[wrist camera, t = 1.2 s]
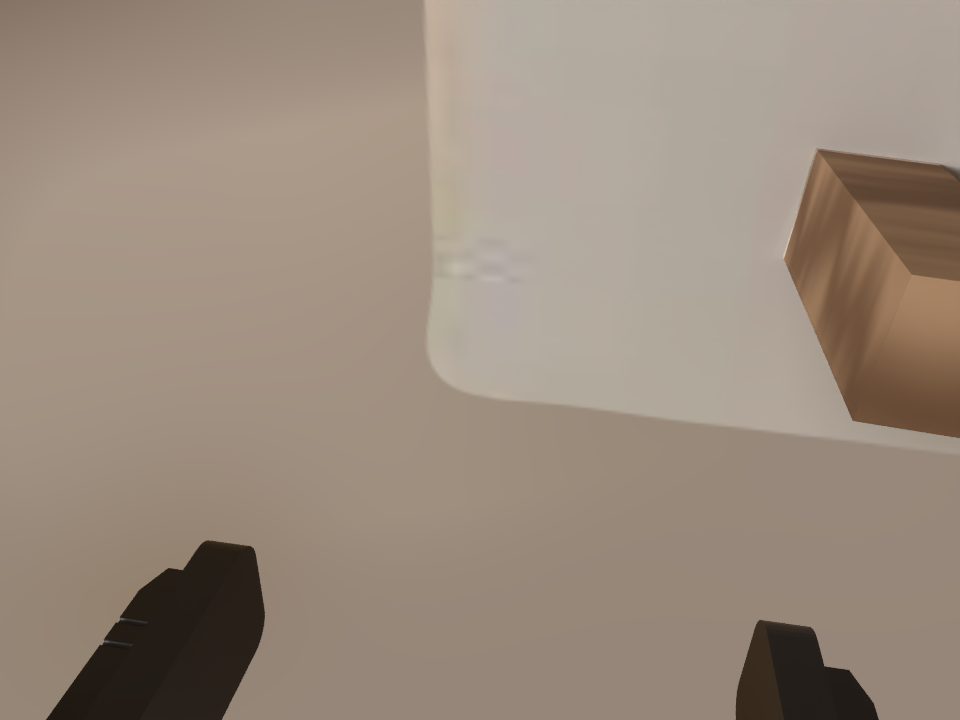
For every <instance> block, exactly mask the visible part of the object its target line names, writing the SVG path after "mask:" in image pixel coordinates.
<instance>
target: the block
mask: <svg viewBox="0 0 960 720" xmlns="http://www.w3.org/2000/svg"><path fill="white" fill-rule="evenodd" d="M783 258H784V260H785V263H786V265H787V267H788V270H789V272H790V274H791V277H792V279H793V282H794V284H795V286H796V289H797V291H798V293H799V296H800V298H801V300H802V303H803V305H804V307H805V310H806V312H807V314H808V317H809V319H810V321H811V324H812V326H813V328H814V331H815V333H816V335H817V338H818V340H819V343H820V345H821V347H822V350H823V352H824V354H825V357H826V359H827V361H828V364H829V366H830V368H831V371H832V373H833V375H834V378H835V380H836V382H837V385H838V387H839V389H840V392H841V394H842V396H843V399H844V401H845V403H846V406H847V408H848V411H849V413H850V415H851V418H852V420H853V421H857V422H863V423H869V424H876V425H882V426H888V427H894V428H901V429H907V430H913V431H919V432H926V433H932V434H938V435H944V436H951V437H957V438H960V181H959V180H958V179H956V178H955V177H954V176H953V175H952V174H950V173H949V172H948V171H947V170H946V169H945V168H943V167H942V166H941V165H940V164H935V163H927V162H919V161H911V160H903V159H895V158H887V157H879V156H872V155H864V154H856V153H848V152H840V151H832V150H824V149H816V151H815V155H814V158H813V161H812V164H811V168H810V171H809V174H808V178H807V181H806V184H805V187H804V191H803V194H802V197H801V200H800V204H799V207H798V210H797V213H796V217H795V220H794V223H793V227H792V230H791V233H790V236H789V240H788V243H787V246H786V249H785V253H784V256H783Z"/></svg>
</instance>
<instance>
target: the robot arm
mask: <svg viewBox="0 0 960 720" xmlns="http://www.w3.org/2000/svg"><path fill="white" fill-rule="evenodd" d="M264 619H265V611H264V603H263V597H262V591H261V584H260V578H259V572H258V566H257V559H256V554H255V551H254V549H253V548H252V547H251V546H245V545H238V544H231V543H224V542H216V541H209V540H208V541H205V542H203V543H202V544H201V545H200V546H199V548H198V549H197V550H196V552H195V553H194V555H193V556H192V558H191V559H190V561H189V562H188V564H187V565H186V567H185V568H184V570H178V569H171V568H168V569H167V570H165V571H164V572H163V573H161V574H160V575H159V576H158V577H156V578H155V579H153V580H152V581H151V582H149V583H148V584H147V585H146V586H144V587H143V588H141V589H140V590H139V591H138V593H137V594H136V596H135V597H134V598H133V600H132V601H131V602H130V604H129V605H128V607H127V608H126V610H125V611H124V612H123V614H122V615H121V616H120V621H119V622H118V623H115V625H114V626H113V627H112V629H111V630H110V632H109V633H108V634H107V636H106V637H105V639H104V643H103V645H100V646H99V647H98V649H97V650H96V651H95V652H94V654H93V655H92V657H91V658H90V659H89V661H88V662H87V664H86V665H85V666H84V668H83V669H82V671H81V672H80V673H79V675H78V676H77V678H76V679H75V680H74V682H73V683H72V684H71V686H70V687H69V689H68V690H67V691H66V693H65V694H64V696H63V697H62V698H61V700H60V701H59V703H58V704H57V705H56V707H55V708H54V710H53V711H52V713H51V714H50V715H49V716H48V718H47V719H46V720H222V718H223V716H224V714H225V712H226V710H227V708H228V706H229V704H230V702H231V700H232V698H233V696H234V694H235V692H236V690H237V688H238V686H239V684H240V682H241V680H242V678H243V676H244V674H245V672H246V670H247V668H248V666H249V664H250V662H251V660H252V658H253V656H254V654H255V652H256V650H257V648H258V646H259V643H260V640H261V636H262V632H263V627H264ZM736 720H879V719H878V716H877V712H876V709H875V706H874V703H873V702H872V700H871V699H870V698H869V697H868V695H867V694H866V693H865V691H864V690H863V688H862V687H861V686H860V684H859V683H858V682H857V680H856V679H855V678H854V676H853V675H852V674H851V672H850V671H849V670H845V669H837V668H831V667H824V664H823V659H822V655H821V652H820V648H819V644H818V640H817V637H816V634H815V632H814V630H813V629H812V628H811V627H806V626H799V625H791V624H785V623H777V622H771V621H763V620H759V621H758V623H757V624H756V627H755V630H754V633H753V637H752V640H751V643H750V647H749V650H748V654H747V657H746V661H745V664H744V667H743V671H742V674H741V677H740V681H739V685H738V690H737V697H736Z"/></svg>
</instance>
